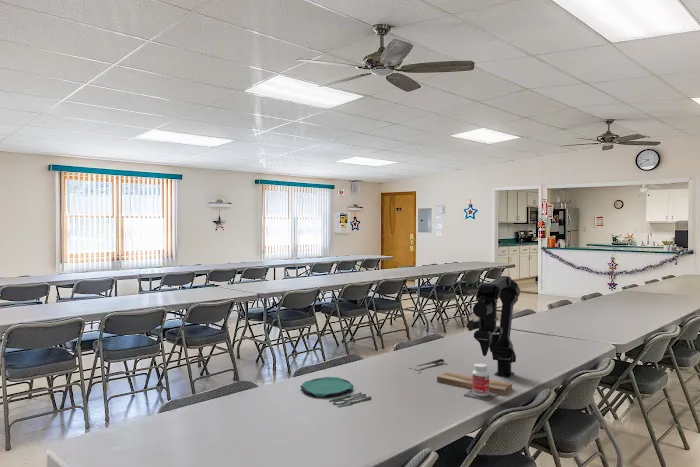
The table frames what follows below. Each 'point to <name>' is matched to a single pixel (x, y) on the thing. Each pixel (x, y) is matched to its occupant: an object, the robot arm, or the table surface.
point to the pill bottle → (480, 380)
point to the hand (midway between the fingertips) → (488, 353)
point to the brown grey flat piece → (467, 382)
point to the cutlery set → (331, 389)
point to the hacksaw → (430, 363)
